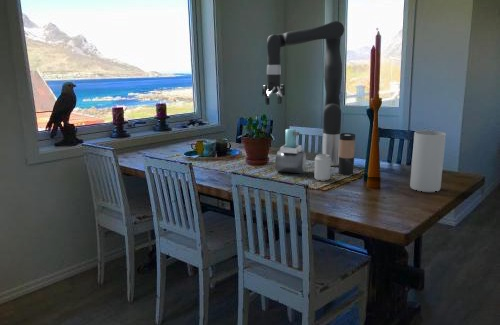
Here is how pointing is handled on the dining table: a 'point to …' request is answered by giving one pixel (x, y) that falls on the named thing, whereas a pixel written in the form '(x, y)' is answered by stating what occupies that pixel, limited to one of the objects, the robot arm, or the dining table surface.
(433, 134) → the cylinder vase
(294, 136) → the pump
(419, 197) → the dining table surface
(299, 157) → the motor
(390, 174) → the dining table surface
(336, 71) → the robot arm
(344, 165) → the travel mug
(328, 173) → the can
